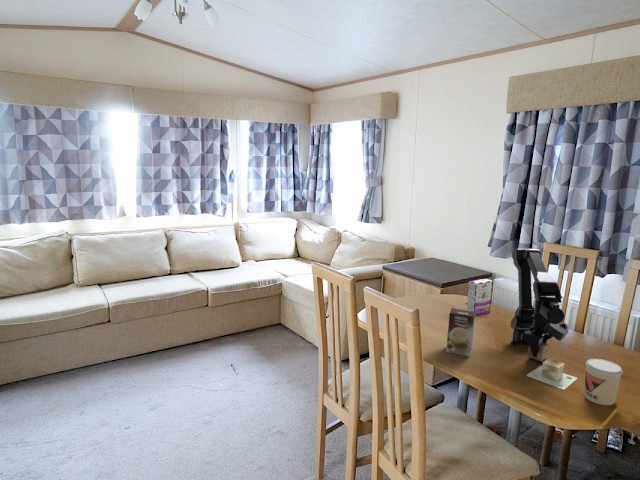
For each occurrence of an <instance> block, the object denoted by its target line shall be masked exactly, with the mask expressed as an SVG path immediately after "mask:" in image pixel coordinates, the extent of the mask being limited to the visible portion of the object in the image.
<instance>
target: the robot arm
mask: <svg viewBox="0 0 640 480" xmlns="http://www.w3.org/2000/svg"><path fill="white" fill-rule="evenodd" d="M511 258H512V260H513V261H512V263H513V265H514V267H515V268H516V269H517V276H518V277H517V279H518V281H517V282H518V306H517V308H516V309H515V311H514V316H513V317H512V319H511V320H510V328H511V329H512V330H513V331H512V339H511V341H510V344H512V345H516V346H517V345H518V344H519V345H524V346H527V347H528V348H529V347H530V350H531V352H532V355H533V356H534V357H536V356H537V354H538V350H539V347H540V344H542V343H544V344H547V345H548V342H549V340H550V339H552V338H555V340H557V341H558V342H559V341H560V342H561V341H562V340H565V338H566V336H567V335H568V334H569V329H568V327H569V325H568V324H567V323H565V322H563V320H564V319H565V313H564V311H563V310H562V308H560V304H562V298H563V296H562V293H561V290H560V286H559V284H558V282H557V280H556V279H555V278H554V277H553V276H552V275H550V274H549V273H548V271H547V268H546V266H545V264H544V262H543V260H542V257H541V251H540V249H538V248H528V247H527V248H526V247H524V248H523V247H516V248H515V249H514V250H512V253H511ZM532 277H533V279H534V281H533V283H532ZM532 292H533V294H534V298H535V299H534V301H535V302H534V306H533V294H532ZM560 323H561V324H560Z"/></svg>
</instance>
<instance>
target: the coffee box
mask: <svg viewBox="0 0 640 480" xmlns="http://www.w3.org/2000/svg"><path fill="white" fill-rule="evenodd" d="M475 321H476V316H475V312H472V311H467V309H466V310H465V309H460V308H454V307H451V309H450V311H449V318H448V328H447V337H446V338H447V339H446V349H445V353H450V354H454V355H457V356H458V355H459V356H463V357H468V358H470V357H471V355H472V354H471V353H472V349H473V341H474V330H475V329H474V328H475Z"/></svg>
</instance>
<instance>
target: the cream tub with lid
mask: <svg viewBox="0 0 640 480" xmlns="http://www.w3.org/2000/svg"><path fill="white" fill-rule="evenodd" d="M622 374H623V370H622V367H621V366H620V365H619V364H617V363H615V362H612V361H610V360H605V359H601V358H589V359H588V360H587V361H586V362H585V375H584V376H585V377H584V392H583V393H584V397H585V398H586V399H587V400H588V401H590V402H592V403H594V404H597V405H602V406H612V405H614V404H615V401H616V397H617V393H618V389H619V387H620V386H619V385H620V382H621V377H622Z"/></svg>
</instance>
